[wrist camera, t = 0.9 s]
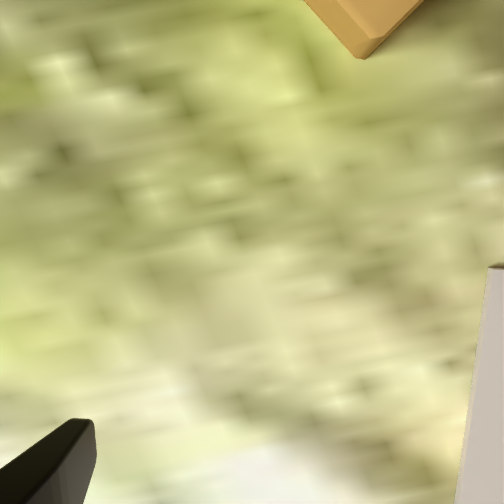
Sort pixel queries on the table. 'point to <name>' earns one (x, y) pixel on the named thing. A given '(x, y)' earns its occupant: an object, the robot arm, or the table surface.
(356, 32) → the rubber stamp
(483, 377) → the grey rubber mat
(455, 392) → the table surface
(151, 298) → the table surface
